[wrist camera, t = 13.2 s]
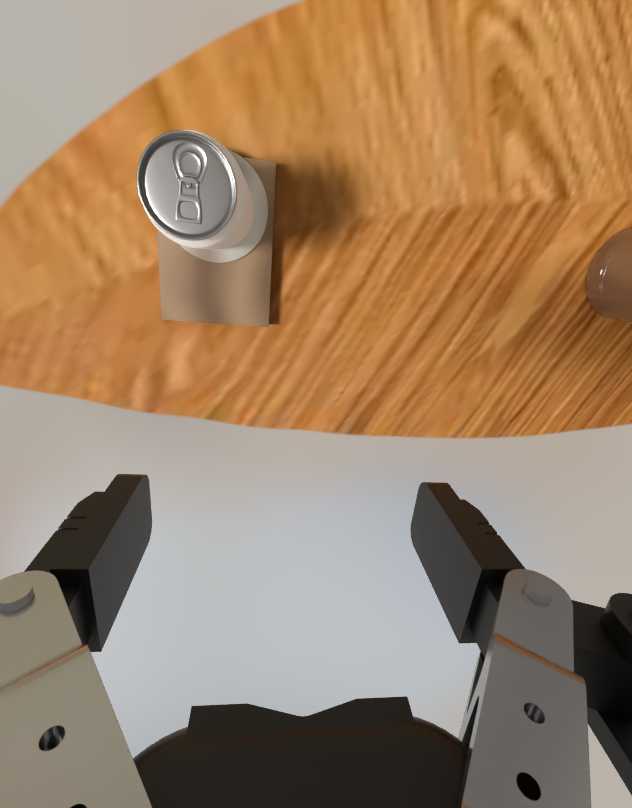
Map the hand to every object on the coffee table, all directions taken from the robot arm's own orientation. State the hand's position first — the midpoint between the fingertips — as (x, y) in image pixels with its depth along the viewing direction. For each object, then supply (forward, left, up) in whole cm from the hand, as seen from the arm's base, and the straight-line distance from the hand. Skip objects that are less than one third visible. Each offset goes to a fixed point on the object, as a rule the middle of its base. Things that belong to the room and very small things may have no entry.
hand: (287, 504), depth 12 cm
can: (+6, -10, -28) cm, 31 cm away
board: (+6, -7, -30) cm, 31 cm away
